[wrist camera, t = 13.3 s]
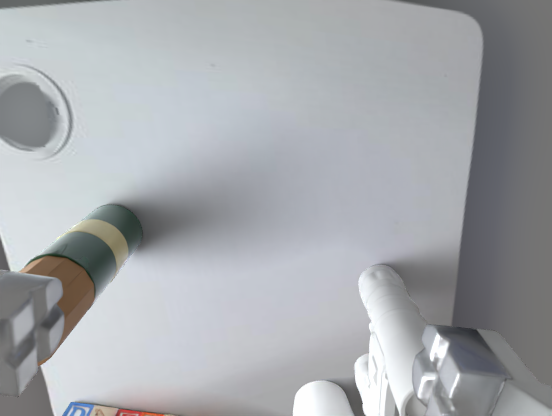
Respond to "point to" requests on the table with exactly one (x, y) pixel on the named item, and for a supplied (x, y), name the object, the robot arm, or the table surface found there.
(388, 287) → the binoculars
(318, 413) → the cup
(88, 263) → the bottle
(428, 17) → the table surface
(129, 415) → the stack of blocks
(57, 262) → the brown cylinder
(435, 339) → the robot arm
